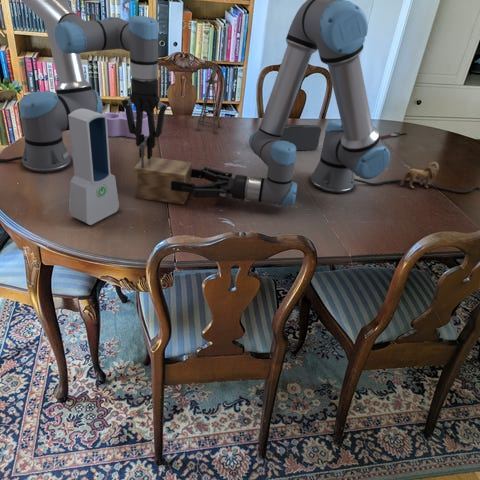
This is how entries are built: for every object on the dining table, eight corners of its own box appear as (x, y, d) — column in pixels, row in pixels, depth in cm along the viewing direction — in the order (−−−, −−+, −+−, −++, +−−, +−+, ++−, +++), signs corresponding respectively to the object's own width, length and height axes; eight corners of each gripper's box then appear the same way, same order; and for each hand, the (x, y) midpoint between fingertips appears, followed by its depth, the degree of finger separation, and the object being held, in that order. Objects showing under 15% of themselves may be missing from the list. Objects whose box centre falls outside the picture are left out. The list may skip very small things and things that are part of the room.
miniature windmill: (215, 133, 199) (220, 59, 183) (196, 130, 200) (199, 56, 184) (220, 126, 207) (225, 55, 190) (201, 123, 208) (205, 52, 191)
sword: (403, 131, 224) (404, 129, 223) (408, 133, 222) (409, 131, 221) (360, 143, 208) (360, 140, 207) (365, 145, 206) (366, 142, 205)
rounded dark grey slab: (315, 147, 196) (319, 124, 190) (317, 149, 194) (322, 126, 188) (264, 149, 189) (267, 125, 183) (266, 152, 187) (269, 127, 181)
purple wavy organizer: (104, 138, 183) (103, 121, 179) (102, 127, 192) (100, 111, 189) (155, 137, 189) (155, 120, 185) (150, 126, 199) (150, 110, 195)
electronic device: (87, 227, 129) (77, 121, 112) (68, 218, 132) (56, 113, 115) (120, 210, 138) (114, 110, 122) (101, 202, 141) (94, 103, 125)
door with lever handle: (134, 171, 141) (133, 144, 136) (144, 159, 149) (143, 133, 144) (184, 178, 140) (185, 151, 135) (191, 165, 148) (192, 139, 143)
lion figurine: (427, 181, 177) (434, 159, 172) (436, 187, 173) (444, 165, 168) (395, 184, 172) (401, 161, 167) (403, 190, 168) (411, 167, 163)
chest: (138, 198, 146) (137, 172, 141) (147, 184, 154) (147, 159, 149) (183, 204, 145) (184, 178, 140) (190, 190, 153) (191, 166, 148)
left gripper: (173, 78, 133) (172, 155, 146) (123, 71, 134) (126, 148, 147) (166, 84, 127) (166, 164, 139) (114, 77, 128) (118, 157, 140)
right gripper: (240, 216, 137) (166, 205, 138) (249, 183, 156) (183, 174, 157) (243, 193, 133) (166, 182, 134) (251, 162, 152) (184, 153, 153)
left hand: (145, 156), depth 143 cm, fingers closed on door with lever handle, 2 cm apart
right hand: (175, 178), depth 146 cm, fingers closed on chest, 10 cm apart
